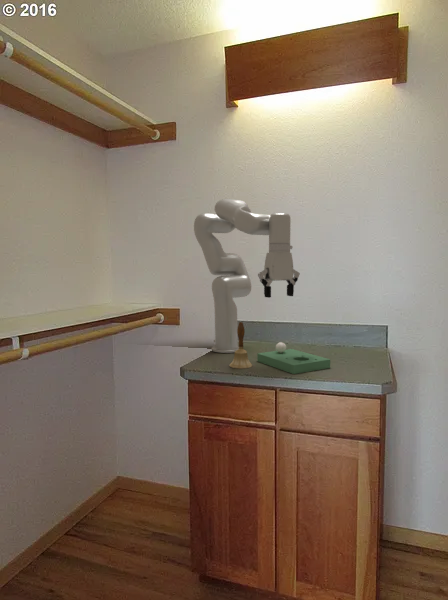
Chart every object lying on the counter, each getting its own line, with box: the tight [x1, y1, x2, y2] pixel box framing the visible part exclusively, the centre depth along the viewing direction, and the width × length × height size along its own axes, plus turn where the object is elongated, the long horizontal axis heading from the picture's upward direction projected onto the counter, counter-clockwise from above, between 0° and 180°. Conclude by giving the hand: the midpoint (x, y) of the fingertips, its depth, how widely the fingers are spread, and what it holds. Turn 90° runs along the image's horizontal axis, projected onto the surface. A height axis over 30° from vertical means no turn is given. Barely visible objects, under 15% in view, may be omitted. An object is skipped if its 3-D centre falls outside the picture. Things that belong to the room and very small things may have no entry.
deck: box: [256, 348, 331, 375], centre depth 158 cm, size 22×16×3 cm
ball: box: [275, 341, 287, 353], centre depth 163 cm, size 4×4×4 cm
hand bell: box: [228, 321, 253, 370], centre depth 156 cm, size 8×8×16 cm
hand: (279, 296), depth 156 cm, fingers open, 9 cm apart
